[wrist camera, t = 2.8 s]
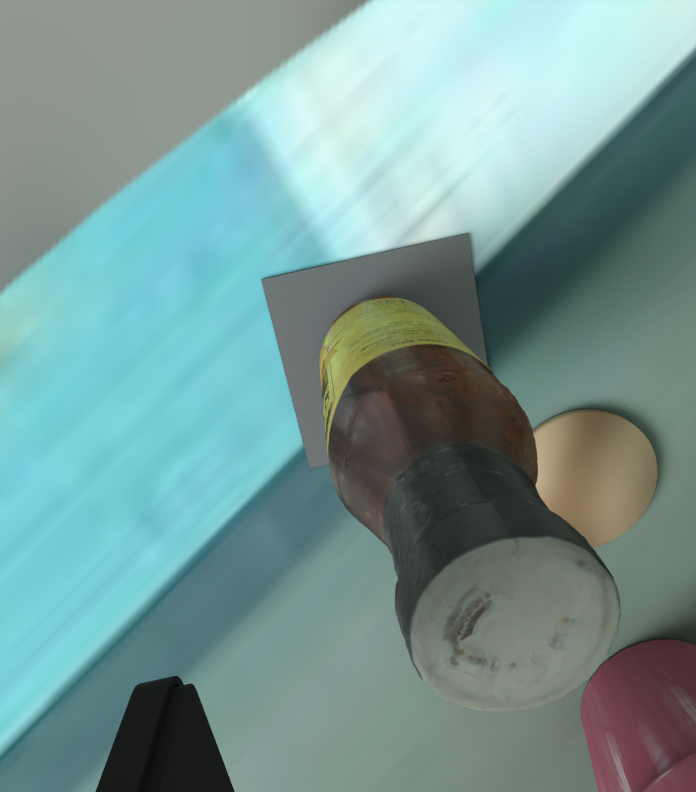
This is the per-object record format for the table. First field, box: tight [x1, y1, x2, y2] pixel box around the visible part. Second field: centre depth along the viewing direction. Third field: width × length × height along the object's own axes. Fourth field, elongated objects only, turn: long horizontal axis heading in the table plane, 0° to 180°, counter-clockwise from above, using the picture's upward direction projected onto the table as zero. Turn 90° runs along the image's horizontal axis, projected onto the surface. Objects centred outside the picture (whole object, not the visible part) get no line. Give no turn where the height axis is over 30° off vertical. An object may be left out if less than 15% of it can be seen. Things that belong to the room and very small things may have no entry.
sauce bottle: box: [320, 295, 621, 712], centre depth 20 cm, size 6×6×20 cm
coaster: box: [533, 409, 658, 547], centre depth 32 cm, size 8×8×1 cm
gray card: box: [261, 233, 488, 468], centre depth 30 cm, size 10×10×1 cm
